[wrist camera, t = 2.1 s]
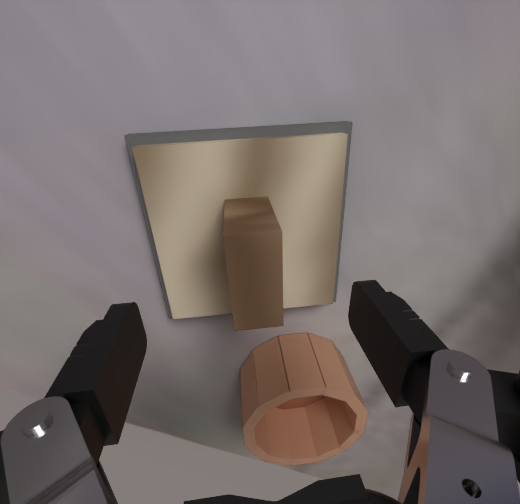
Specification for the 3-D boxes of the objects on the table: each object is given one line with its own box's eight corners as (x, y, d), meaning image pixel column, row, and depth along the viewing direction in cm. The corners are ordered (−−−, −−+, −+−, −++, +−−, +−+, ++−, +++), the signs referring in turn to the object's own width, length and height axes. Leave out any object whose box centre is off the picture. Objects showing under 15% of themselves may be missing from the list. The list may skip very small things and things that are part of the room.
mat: (347, 121, 16) (352, 122, 16) (332, 295, 22) (335, 301, 21) (129, 134, 16) (124, 135, 15) (171, 310, 21) (169, 317, 20)
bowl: (347, 328, 24) (374, 380, 19) (338, 400, 28) (359, 456, 23) (236, 339, 23) (238, 396, 19) (244, 411, 27) (248, 471, 23)
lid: (342, 132, 16) (396, 147, 11) (329, 296, 21) (362, 360, 16) (136, 145, 15) (89, 167, 10) (174, 311, 20) (156, 382, 15)
